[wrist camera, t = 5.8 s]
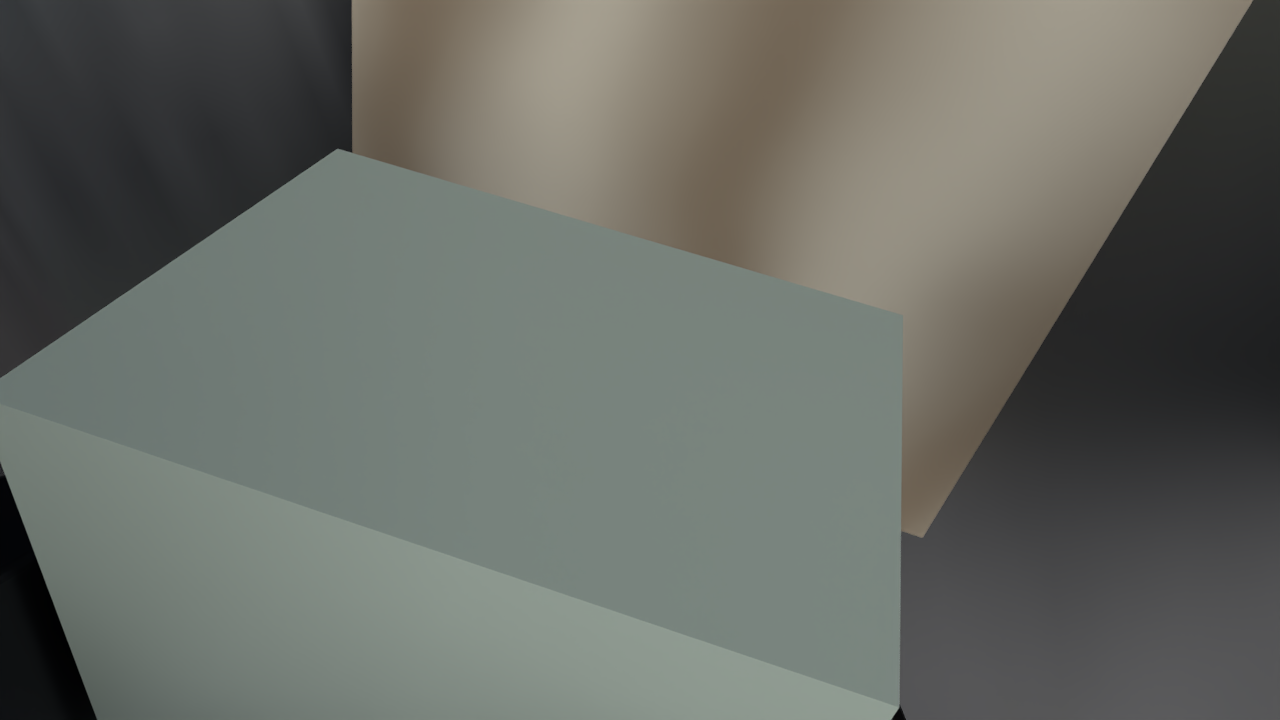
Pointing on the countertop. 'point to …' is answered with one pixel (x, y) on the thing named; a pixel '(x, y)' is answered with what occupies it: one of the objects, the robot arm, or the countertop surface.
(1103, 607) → the countertop surface
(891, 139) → the birch plinth
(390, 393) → the sage block
